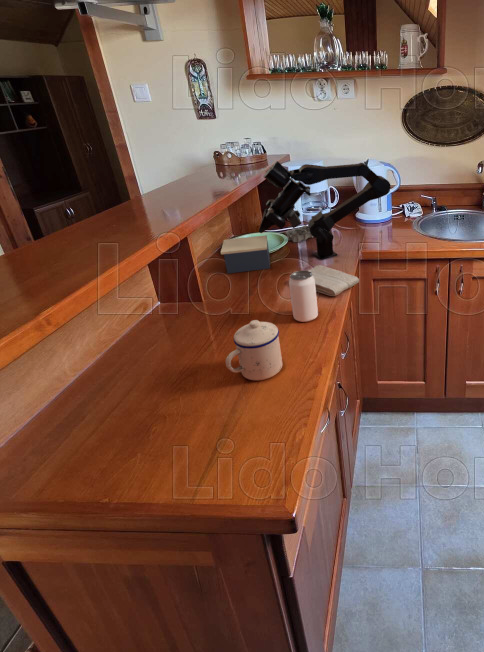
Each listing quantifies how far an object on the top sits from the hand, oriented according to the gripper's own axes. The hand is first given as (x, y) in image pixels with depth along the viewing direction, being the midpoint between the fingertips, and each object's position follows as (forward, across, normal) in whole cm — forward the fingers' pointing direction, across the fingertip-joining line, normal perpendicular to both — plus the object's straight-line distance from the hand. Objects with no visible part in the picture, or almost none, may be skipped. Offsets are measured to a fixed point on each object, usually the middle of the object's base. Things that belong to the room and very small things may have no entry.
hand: (259, 232), depth 141 cm
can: (0, -42, -16) cm, 45 cm away
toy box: (+11, 0, -4) cm, 12 cm away
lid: (+7, 0, +1) cm, 7 cm away
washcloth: (-5, -24, -21) cm, 32 cm away
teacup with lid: (+9, -63, -7) cm, 64 cm away
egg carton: (-2, +22, -18) cm, 28 cm away
